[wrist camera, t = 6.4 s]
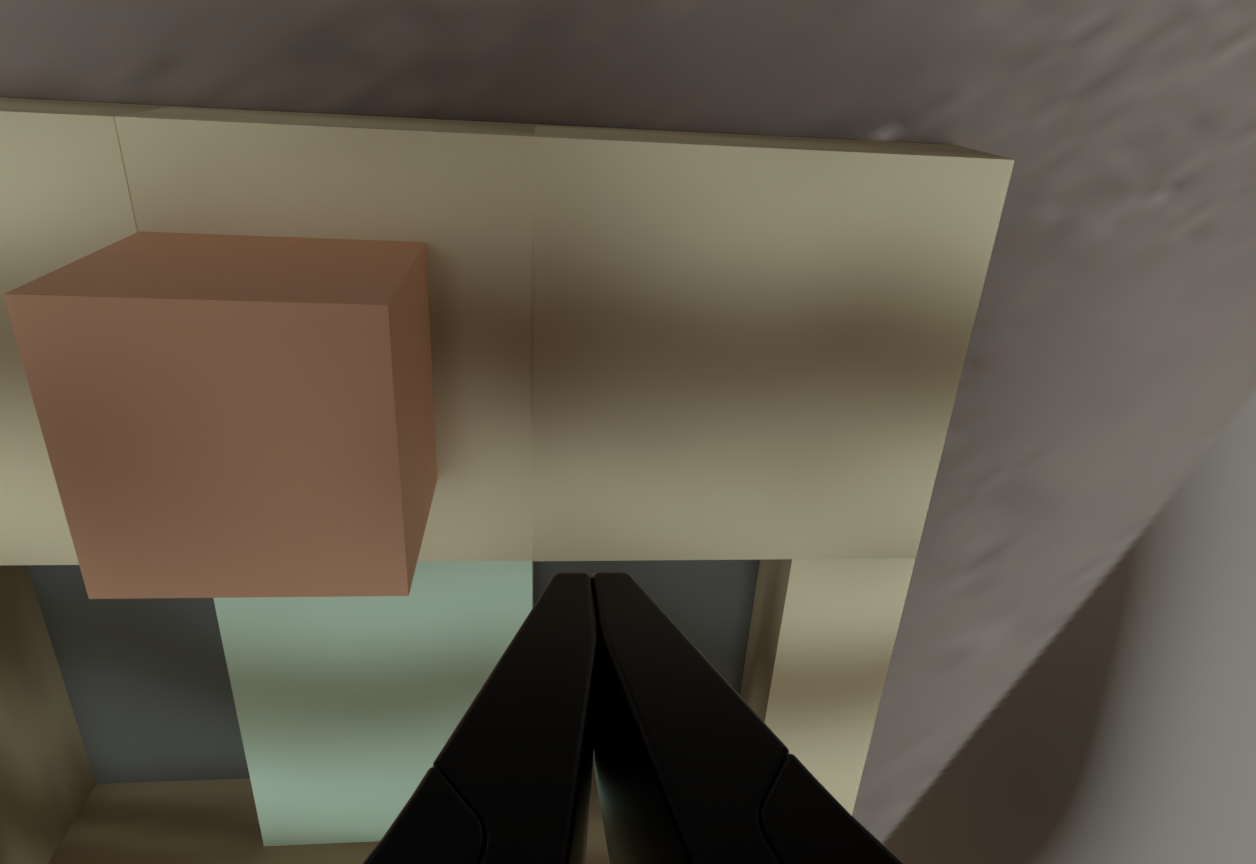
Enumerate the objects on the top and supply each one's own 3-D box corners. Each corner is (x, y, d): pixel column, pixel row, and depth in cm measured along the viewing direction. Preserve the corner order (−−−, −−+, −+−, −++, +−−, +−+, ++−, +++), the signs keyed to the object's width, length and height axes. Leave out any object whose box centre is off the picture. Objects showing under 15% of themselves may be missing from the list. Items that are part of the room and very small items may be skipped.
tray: (819, 767, 25) (886, 941, 20) (74, 794, 23) (-53, 998, 18) (954, 145, 17) (1115, 185, 13) (-163, 89, 15) (-506, 111, 10)
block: (437, 479, 17) (408, 596, 13) (188, 477, 16) (88, 598, 13) (425, 242, 15) (388, 304, 11) (139, 231, 14) (3, 294, 11)
